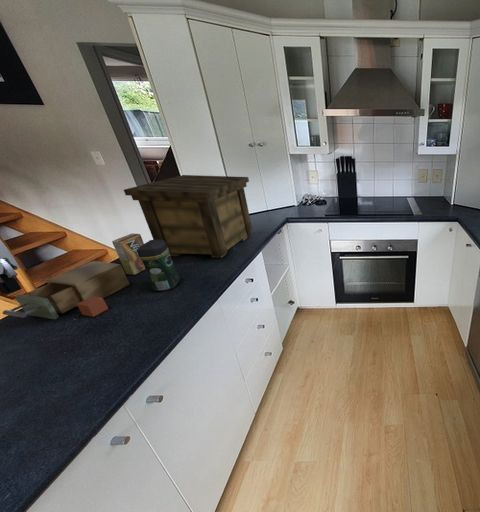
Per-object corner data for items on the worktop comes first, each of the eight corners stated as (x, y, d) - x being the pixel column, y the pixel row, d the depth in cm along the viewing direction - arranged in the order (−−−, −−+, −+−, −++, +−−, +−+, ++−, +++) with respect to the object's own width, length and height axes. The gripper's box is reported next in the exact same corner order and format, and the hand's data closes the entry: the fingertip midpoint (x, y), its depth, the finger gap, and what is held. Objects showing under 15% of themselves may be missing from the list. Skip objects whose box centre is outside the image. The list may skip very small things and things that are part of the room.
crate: (225, 262, 126) (206, 192, 111) (151, 260, 126) (123, 189, 112) (259, 234, 157) (248, 177, 142) (200, 232, 158) (183, 175, 143)
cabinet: (87, 306, 95) (75, 284, 91) (58, 301, 97) (45, 279, 93) (129, 284, 108) (120, 264, 104) (103, 280, 110) (93, 260, 106)
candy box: (144, 264, 122) (131, 233, 116) (153, 265, 122) (140, 233, 115) (125, 274, 114) (110, 241, 108) (135, 275, 114) (120, 241, 107)
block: (93, 316, 90) (87, 305, 88) (82, 314, 91) (76, 304, 89) (108, 308, 94) (102, 297, 92) (97, 306, 95) (91, 296, 93)
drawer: (34, 329, 83) (21, 310, 80) (5, 324, 84) (-9, 305, 81) (101, 295, 99) (92, 278, 96) (75, 292, 101) (66, 275, 98)
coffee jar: (160, 280, 111) (144, 238, 103) (183, 278, 113) (168, 236, 105) (149, 293, 103) (130, 249, 94) (173, 290, 105) (156, 247, 96)
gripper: (-69, 236, 71) (-26, 295, 79) (-25, 243, 69) (14, 302, 77) (-26, 227, 78) (10, 281, 86) (15, 232, 76) (48, 288, 84)
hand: (12, 291), depth 81 cm, fingers closed
